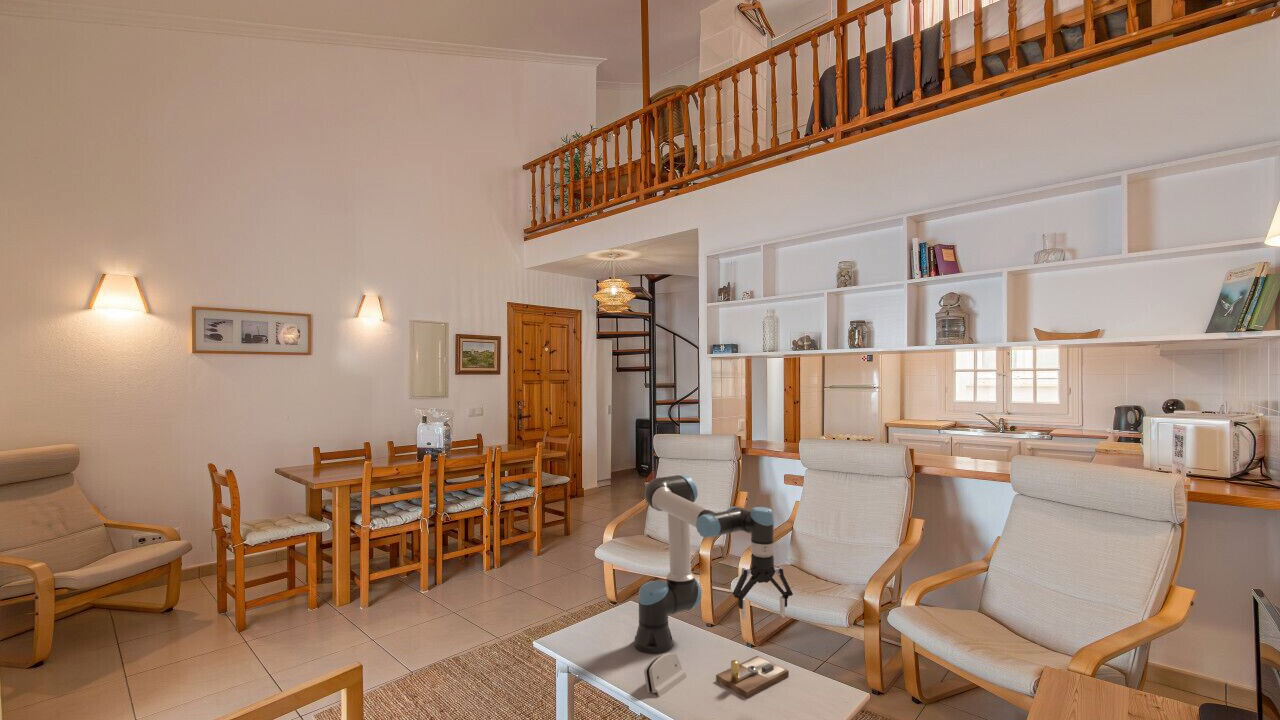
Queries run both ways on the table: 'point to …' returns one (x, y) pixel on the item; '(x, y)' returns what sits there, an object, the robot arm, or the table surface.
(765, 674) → the board
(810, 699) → the table surface
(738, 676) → the swing bar
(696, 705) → the table surface
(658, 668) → the hinge
